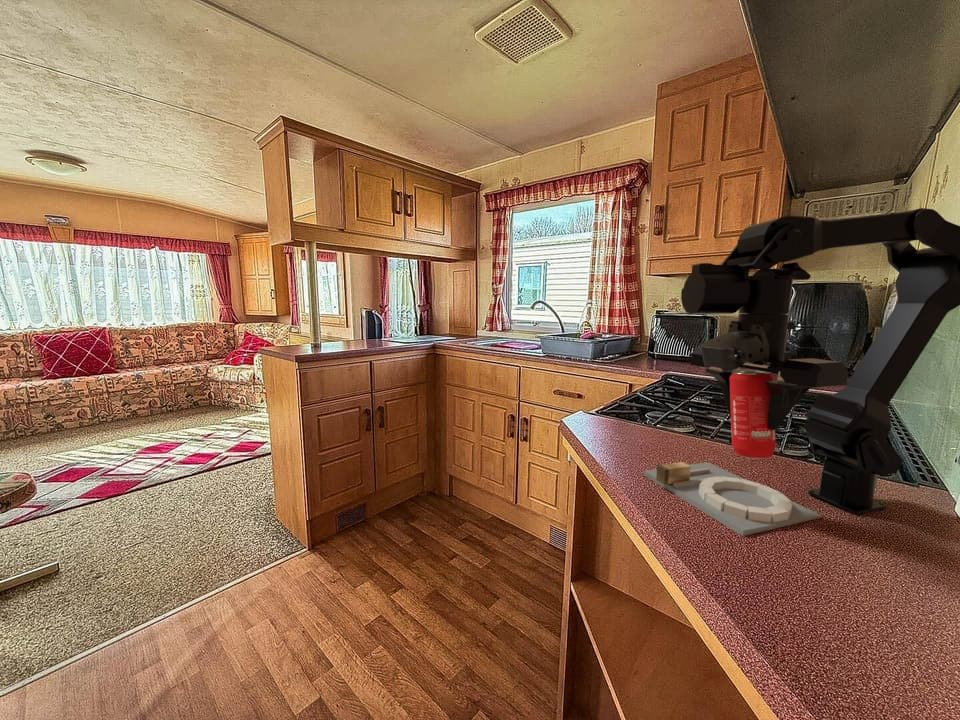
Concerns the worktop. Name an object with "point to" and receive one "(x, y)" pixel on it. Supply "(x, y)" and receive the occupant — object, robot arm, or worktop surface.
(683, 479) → the bar
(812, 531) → the worktop surface
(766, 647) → the worktop surface
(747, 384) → the beverage can
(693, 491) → the dock board
